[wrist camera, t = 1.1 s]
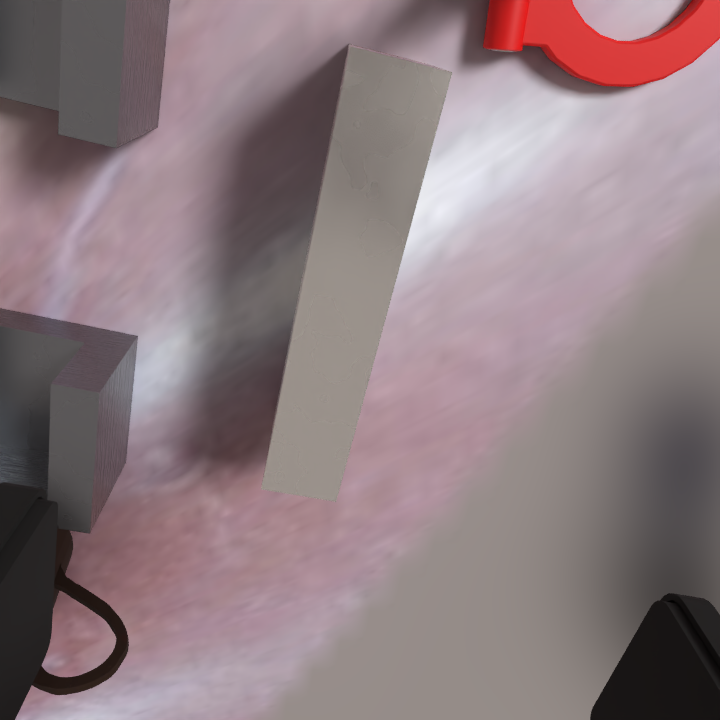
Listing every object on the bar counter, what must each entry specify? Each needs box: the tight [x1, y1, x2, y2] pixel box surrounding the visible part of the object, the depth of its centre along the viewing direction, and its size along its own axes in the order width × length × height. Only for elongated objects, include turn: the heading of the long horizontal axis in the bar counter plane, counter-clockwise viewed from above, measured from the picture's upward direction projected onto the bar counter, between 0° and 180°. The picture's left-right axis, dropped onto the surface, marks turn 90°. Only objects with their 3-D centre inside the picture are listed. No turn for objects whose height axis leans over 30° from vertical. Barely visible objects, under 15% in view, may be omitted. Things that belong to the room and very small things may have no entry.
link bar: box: [261, 44, 452, 502], centre depth 24 cm, size 16×3×6 cm, turn 167°
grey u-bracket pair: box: [0, 0, 170, 533], centre depth 23 cm, size 23×8×5 cm, turn 166°
